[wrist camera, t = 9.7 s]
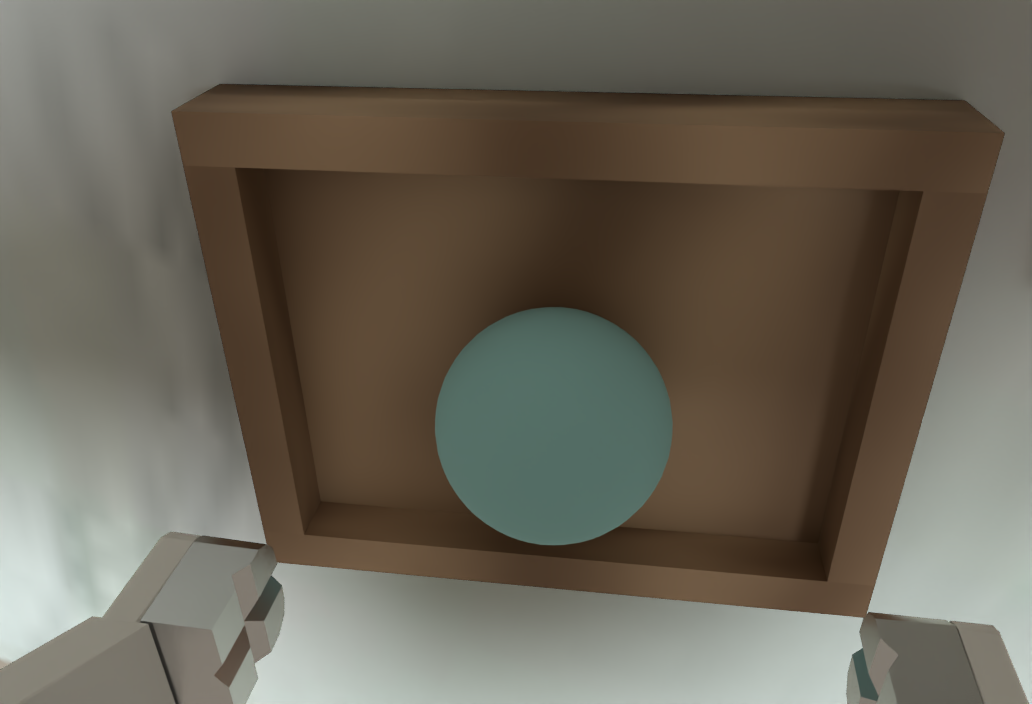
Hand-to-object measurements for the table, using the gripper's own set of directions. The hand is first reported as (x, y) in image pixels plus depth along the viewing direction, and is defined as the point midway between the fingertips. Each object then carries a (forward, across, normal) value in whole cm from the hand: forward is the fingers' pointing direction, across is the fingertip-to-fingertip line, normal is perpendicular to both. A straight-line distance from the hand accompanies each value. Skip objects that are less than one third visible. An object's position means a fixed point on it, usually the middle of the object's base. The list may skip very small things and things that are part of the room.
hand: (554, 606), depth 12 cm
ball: (+7, +1, +1) cm, 7 cm away
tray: (+8, +1, +1) cm, 8 cm away
